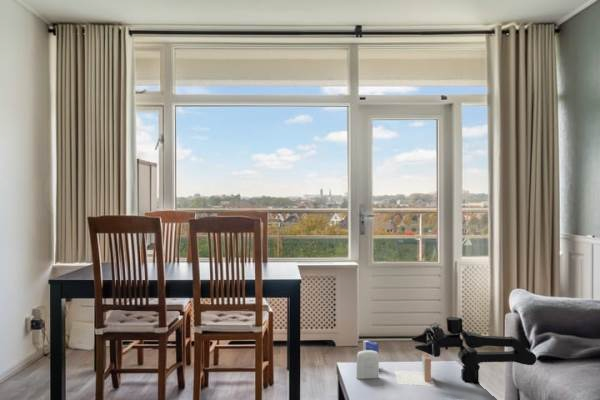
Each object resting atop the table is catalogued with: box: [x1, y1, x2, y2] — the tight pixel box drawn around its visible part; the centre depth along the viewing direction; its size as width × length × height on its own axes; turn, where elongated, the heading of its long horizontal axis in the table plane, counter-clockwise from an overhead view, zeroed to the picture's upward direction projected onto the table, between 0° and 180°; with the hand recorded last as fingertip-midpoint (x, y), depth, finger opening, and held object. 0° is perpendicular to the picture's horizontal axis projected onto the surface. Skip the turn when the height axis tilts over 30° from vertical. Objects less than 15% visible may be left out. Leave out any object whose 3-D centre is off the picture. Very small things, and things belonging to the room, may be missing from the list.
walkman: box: [362, 340, 379, 353], centre depth 217 cm, size 8×3×12 cm, turn 40°
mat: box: [394, 370, 436, 387], centre depth 201 cm, size 16×16×1 cm
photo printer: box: [356, 350, 380, 380], centre depth 203 cm, size 10×4×12 cm, turn 98°
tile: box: [421, 353, 432, 382], centre depth 201 cm, size 3×7×10 cm, turn 174°
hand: (413, 343), depth 202 cm, fingers open, 9 cm apart
